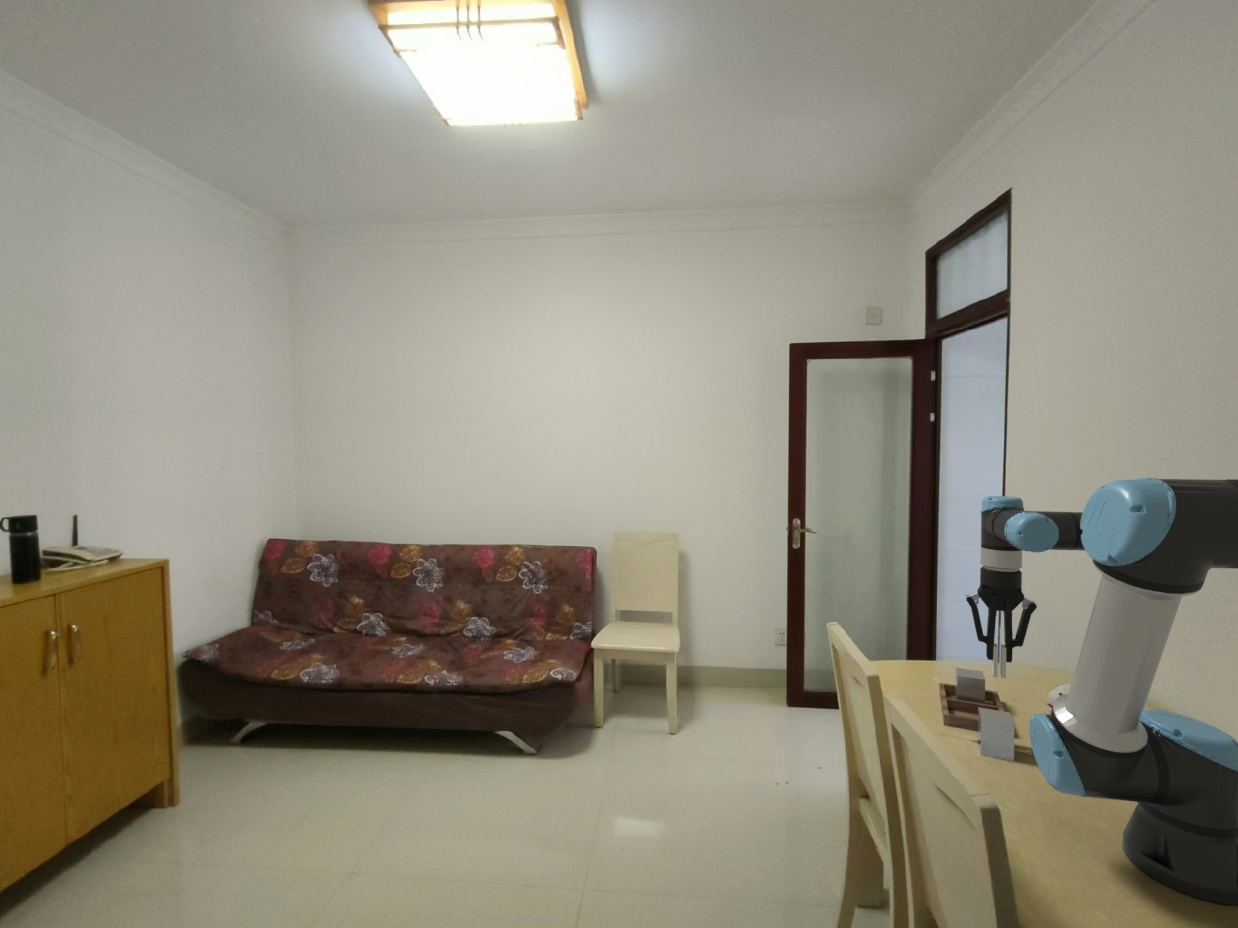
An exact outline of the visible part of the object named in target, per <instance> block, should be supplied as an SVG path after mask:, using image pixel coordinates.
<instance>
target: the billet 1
mask: <svg viewBox="0 0 1238 928" xmlns="http://www.w3.org/2000/svg"><path fill="white" fill-rule="evenodd" d="M954 670H955V672H954V675H955V678H954V679H955V682H954V683H955V684H954V685H955V699H957V700H964V701H970V702H976V703H982V704H985V690H986V678H985V675H984V673H983V671H982V670H975V669H968V668H960V667H955V669H954Z"/></svg>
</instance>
